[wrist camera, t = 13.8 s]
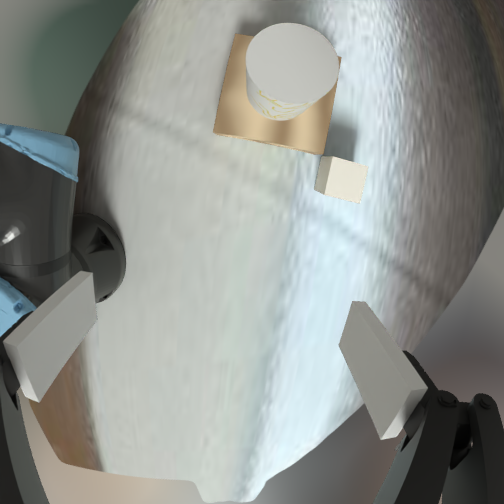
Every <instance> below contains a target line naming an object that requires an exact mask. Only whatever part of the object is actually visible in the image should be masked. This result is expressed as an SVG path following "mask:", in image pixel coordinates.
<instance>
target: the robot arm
mask: <svg viewBox="0 0 504 504" xmlns="http://www.w3.org/2000/svg"><path fill="white" fill-rule="evenodd" d="M78 161H79V146H78V144H77V143H76V141H75V140H74V139H72V138H71V137H68V136H64V135H60V134H56V133H51V132H47V131H42V130H37V129H32V128H26V127H21V126H14V125H7V124H2V123H0V504H49V502H48V499H47V497H46V494H45V492H44V489H43V486H42V484H41V481H40V478H39V475H38V472H37V469H36V466H35V463H34V460H33V457H32V453H31V449H30V446H29V442H28V438H27V434H26V430H25V426H24V421H23V417H22V411H21V406H20V400H19V396H18V394H17V392H16V391H17V390H18V389H19V387H20V386H21V388H22V391H23V393H24V395H25V397H27V398H30V399H32V400H34V401H37V402H40V401H41V399H42V397H43V396H44V394H45V393H46V391H47V390H48V388H49V387H50V385H51V384H52V382H53V381H54V379H55V378H56V376H57V375H58V373H59V372H60V371H61V369H62V368H63V366H64V365H65V363H66V362H67V361H68V359H69V358H70V356H71V355H72V353H73V352H74V351H75V349H76V348H77V347H78V345H79V344H80V342H81V341H82V340H83V338H84V337H85V336H86V334H87V333H88V332H89V330H90V329H91V328H92V326H93V325H94V324H95V322H96V321H97V320H98V318H97V311H96V303H99V302H102V301H104V300H106V299H107V298H109V297H110V296H111V295H112V294H113V293H114V292H115V291H116V290H117V289H118V287H119V286H120V285H121V283H122V281H123V278H124V275H125V268H126V261H125V254H124V250H123V247H122V244H121V242H120V240H119V238H118V236H117V235H116V233H115V232H114V230H113V229H112V228H111V227H110V226H109V225H108V224H107V223H106V222H105V221H103V220H102V219H100V218H99V217H97V216H94V215H91V214H86V213H79V214H74V215H73V211H74V201H75V192H76V184H77V182H78V177H77V171H78ZM339 347H340V350H341V352H342V354H343V356H344V358H345V360H346V363H347V365H348V367H349V369H350V371H351V373H352V376H353V378H354V380H355V382H356V384H357V387H358V389H359V391H360V393H361V396H362V398H363V400H364V402H365V405H366V407H367V409H368V412H369V414H370V416H371V418H372V421H373V423H374V425H375V428H376V430H377V432H378V435H379V437H380V439H387V438H392V437H397V435H398V434H399V432H400V431H401V430H402V428H403V427H404V429H405V431H406V433H407V434H406V435H405V437H404V438H403V439H402V441H401V442H400V443H399V445H398V446H397V447H396V449H395V450H396V451H397V450H398V449H399V450H398V452H397V454H396V457H395V459H394V461H393V463H392V465H391V468H390V470H389V472H388V474H387V476H386V478H385V480H384V482H383V484H382V486H381V488H380V490H379V492H378V494H377V496H376V498H375V500H374V501H373V503H372V504H438V503H439V500H440V497H441V494H442V504H504V429H503V425H502V421H501V418H500V414H499V411H498V407H497V404H496V402H495V401H494V400H493V399H492V397H490V396H489V395H486V394H483V393H482V394H480V393H479V394H476V395H475V397H474V398H473V399H472V401H471V402H470V403H467V402H459V401H458V399H457V398H456V397H455V396H454V395H453V394H452V393H450V392H448V391H443V390H438V389H437V388H436V386H435V385H434V383H433V382H432V380H431V379H430V378H429V376H428V375H427V374H426V372H424V369H423V368H422V367H421V366H420V364H419V362H418V361H417V360H416V359H415V357H414V356H412V355H411V354H410V353H409V352H407V351H402V350H401V349H400V347H399V346H398V345H397V343H396V342H395V341H394V339H393V338H392V336H391V335H390V334H389V332H388V331H387V330H386V328H385V327H384V326H383V324H382V323H381V322H380V320H379V319H378V318H377V316H376V315H375V314H374V312H373V311H372V310H371V308H370V307H369V306H368V305H367V303H366V302H360V301H352V304H351V307H350V311H349V314H348V317H347V321H346V324H345V327H344V330H343V333H342V336H341V340H340V343H339ZM472 442H473V445H472V447H471V443H472Z"/></svg>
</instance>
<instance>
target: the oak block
mask: <svg viewBox="0 0 504 504" xmlns="http://www.w3.org/2000/svg"><path fill="white" fill-rule="evenodd" d="M253 38H254V36H248V35H241V34H235V37H234V41H233V45H232V49H231V53H230V57H229V61H228V65H227V69H226V74H225V78H224V82H223V87H222V91H221V96H220V100H219V105H218V110H217V115H216V119H215V124H214V129H213V132H214V133H215V134H217V135H221V136H227V137H233V138H239V139H245V140H250V141H255V142H260V143H266V144H270V145H275V146H280V147H285V148H289V149H293V150H298V151H302V152H306V153H310V154H314V155H318V154H324V149H325V144H326V139H327V134H328V129H329V124H330V119H331V114H332V109H333V103H334V98H335V92H336V87H337V81H338V78H337V81H336V83H335V85H334V86H333V88H332V89H331V90H330V91H329V92H328V93H327V94H326V95H324V96H323V97H322V98H321V99H319V100H318V101H317V102H315V103H314V104H313V105H312V106H310V107H309V108H308V109H307V110H305V111H304V112H303V113H302V114H300V115H299V116H297V117H295V118H293V119H290V120H283V121H278V120H272V119H269V118H266V117H264V116H262V115H261V114H259V113H258V112H257V111H256V110H255V109H254V108H253V107H252V105H251V104H250V102H249V100H248V97H247V89H246V52H247V49H248V46H249V44H250V42H251V41H252V39H253ZM338 60H339V69H340V63H341V57H339V56H338ZM338 75H339V74H338Z"/></svg>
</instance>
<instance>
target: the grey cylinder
mask: <svg viewBox="0 0 504 504" xmlns="http://www.w3.org/2000/svg"><path fill="white" fill-rule="evenodd" d="M338 74H339V60H338V56H337V53H336V51H335V49H334V47H333V46H332V44H331V43H330V42H329V41H328V39H327V38H326V37H324V36H323V35H322V34H321V33H319V32H318V31H316V30H314V29H313V28H310V27H308V26H305V25H302V24H297V23H280V24H275V25H272V26H269V27H267V28H265V29H263V30H262V31H260V32H259V33H258V34H257V35H256V36H255V37H254V38H253V39H252V41H251V42H250V44H249V46H248V49H247V52H246V89H247V97H248V100H249V102H250V104H251V105H252V107H253V108H254V109H255V110H256V111H257V112H258V113H259V114H261V115H262V116H264V117H266V118H269V119H272V120H278V121H283V120H290V119H293V118H295V117H297V116H299V115H300V114H302V113H303V112H304V111H305V110H307V109H308V108H309V107H310V106H312V105H313V104H314V103H315V102H317V101H318V100H319V99H321V98H322V97H323V96H324V95H326V94H327V93H328V92H329V91H330V90H331V89H332V88H333V86H334V85H335V83H336V81H337V78H338Z"/></svg>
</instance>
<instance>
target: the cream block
mask: <svg viewBox="0 0 504 504" xmlns="http://www.w3.org/2000/svg"><path fill="white" fill-rule="evenodd" d="M367 171H368V166H365V165H361V164H358V163H355V162H351V161H348V160H344V159H341V158H337V157H333V156H321V160H320V165H319V170H318V174H317V179H316V183H315V188H314V190H316V191H318V192H320V193H322V194H324V195H327V196H331V197H335V198H339V199H343V200H347V201H351V202H355V203H359V204H360V201H361V197H362V193H363V189H364V184H365V180H366V176H367Z"/></svg>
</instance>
